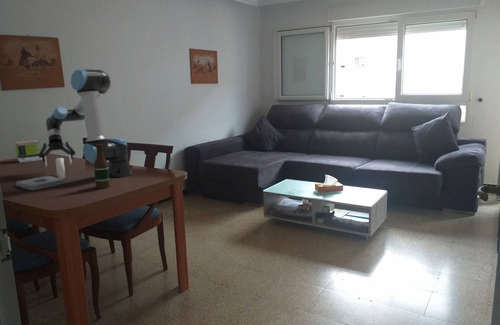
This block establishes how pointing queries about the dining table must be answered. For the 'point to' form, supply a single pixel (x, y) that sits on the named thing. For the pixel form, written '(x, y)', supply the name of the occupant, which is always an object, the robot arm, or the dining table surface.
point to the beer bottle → (101, 169)
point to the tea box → (28, 151)
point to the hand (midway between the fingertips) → (58, 164)
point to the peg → (60, 168)
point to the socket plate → (40, 182)
